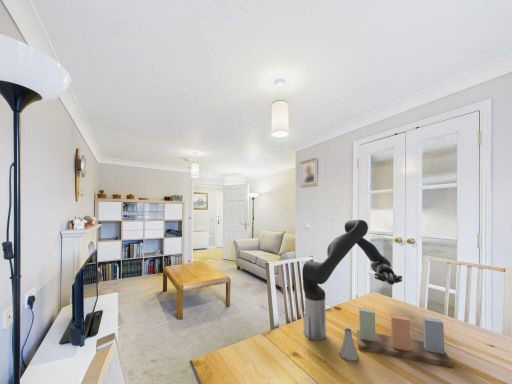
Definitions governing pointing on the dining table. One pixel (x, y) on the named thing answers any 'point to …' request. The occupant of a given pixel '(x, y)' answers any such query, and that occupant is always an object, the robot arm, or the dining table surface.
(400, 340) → the terracotta tab
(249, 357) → the dining table surface
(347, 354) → the flask
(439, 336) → the slate tab
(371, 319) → the sage tab
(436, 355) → the brown wooden flat board
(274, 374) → the dining table surface
